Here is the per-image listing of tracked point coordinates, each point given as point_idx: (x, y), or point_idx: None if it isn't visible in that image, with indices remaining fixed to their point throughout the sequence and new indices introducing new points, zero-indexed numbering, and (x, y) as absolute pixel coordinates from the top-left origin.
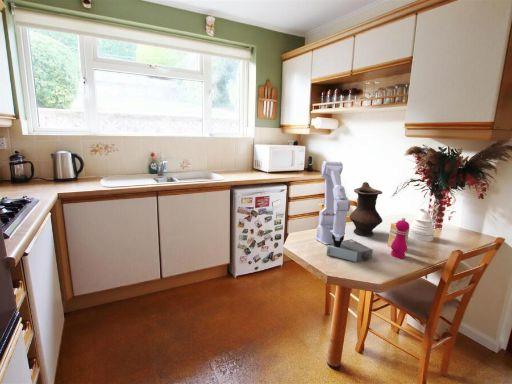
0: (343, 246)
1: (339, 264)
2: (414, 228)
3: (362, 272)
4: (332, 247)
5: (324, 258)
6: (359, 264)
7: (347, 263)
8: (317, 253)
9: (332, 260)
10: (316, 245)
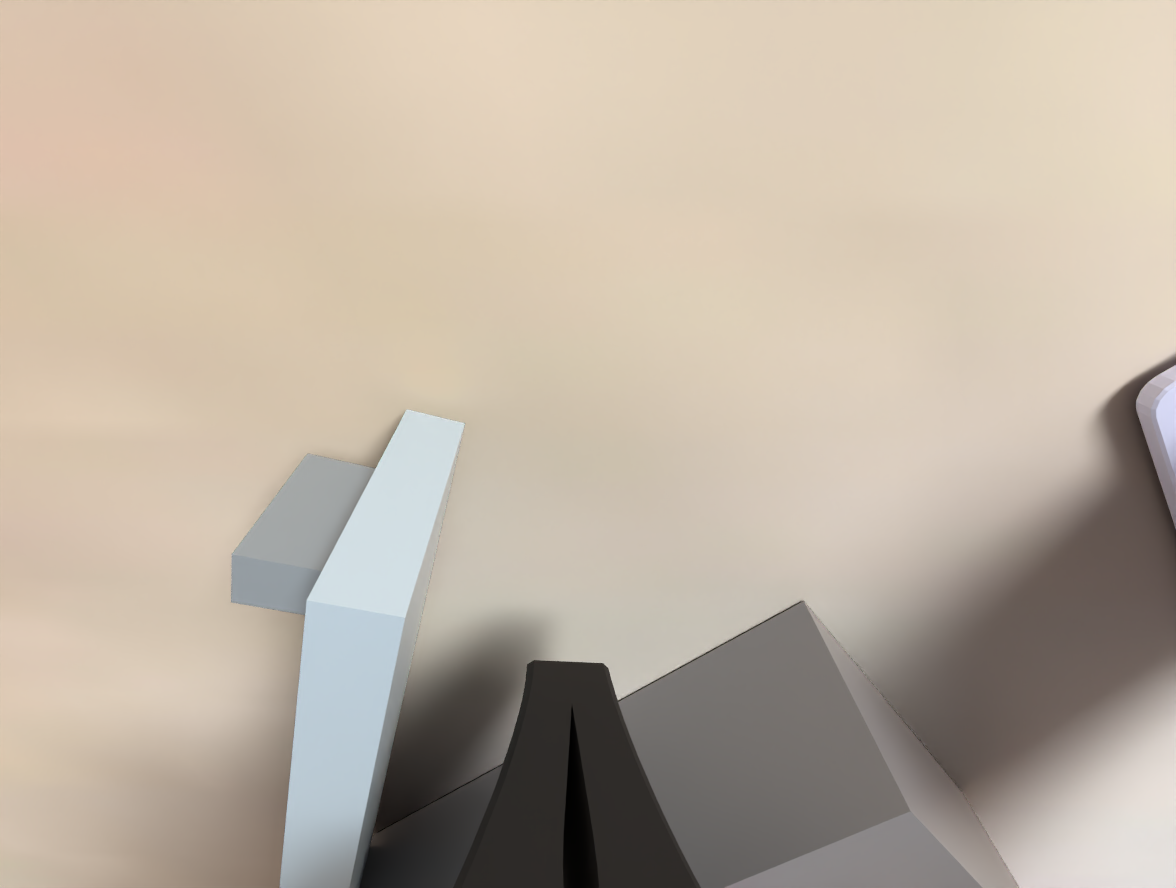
0: None
1: (47, 641)
2: None
3: (15, 873)
4: (302, 731)
5: (145, 347)
6: None
7: (206, 744)
8: (414, 118)
9: (157, 528)
10: (1138, 78)
